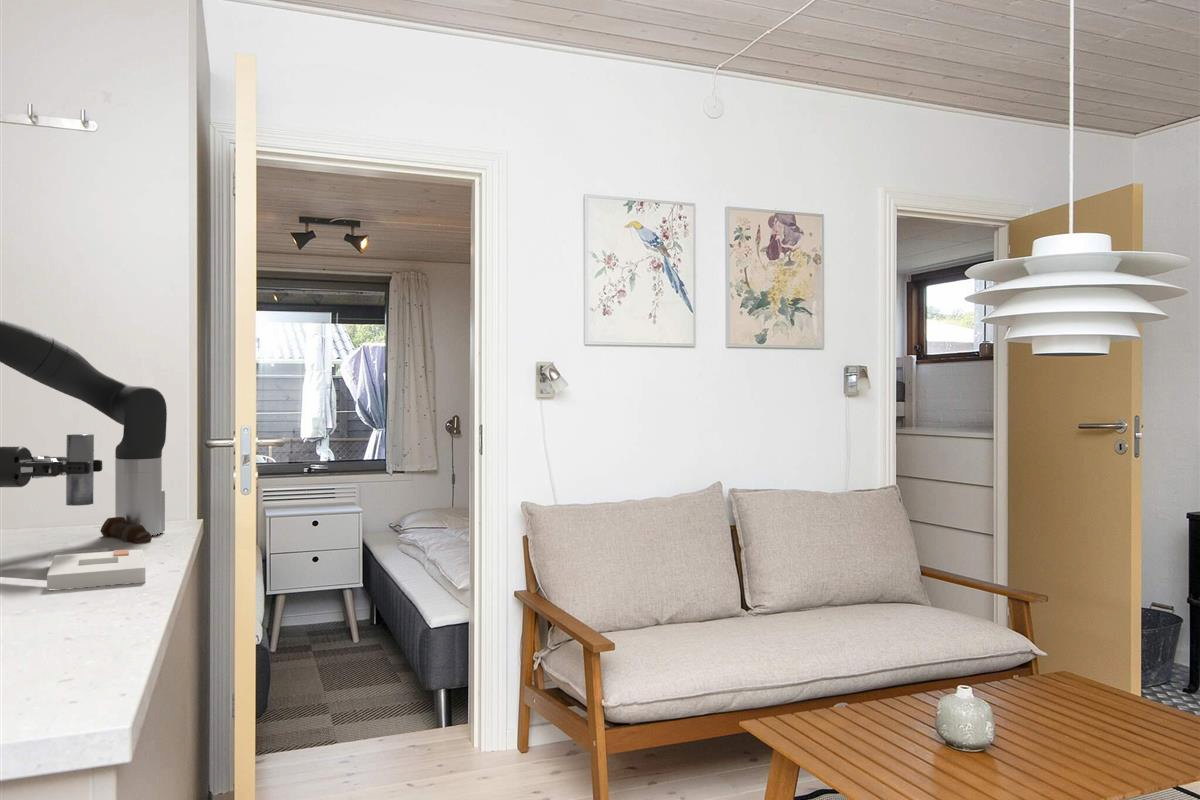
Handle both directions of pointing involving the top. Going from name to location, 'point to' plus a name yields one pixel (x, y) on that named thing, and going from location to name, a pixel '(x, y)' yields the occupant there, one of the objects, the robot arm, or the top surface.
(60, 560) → the plate
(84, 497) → the cylinder
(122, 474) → the robot arm
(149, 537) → the bolt
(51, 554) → the mat
